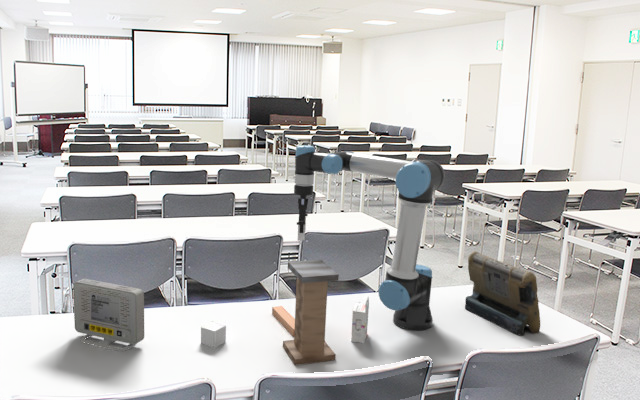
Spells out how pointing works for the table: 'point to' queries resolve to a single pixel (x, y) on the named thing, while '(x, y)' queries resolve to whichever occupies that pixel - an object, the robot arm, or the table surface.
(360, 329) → the ink cartridge box
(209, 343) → the white cube
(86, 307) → the network device
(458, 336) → the table surface
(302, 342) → the wooden pedestal stand
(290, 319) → the bar
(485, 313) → the tablet
